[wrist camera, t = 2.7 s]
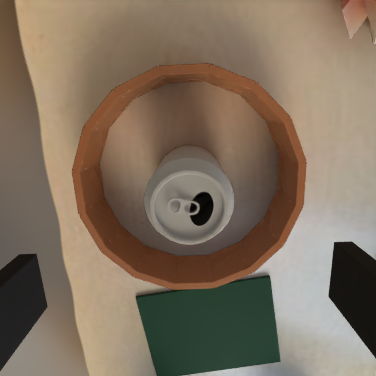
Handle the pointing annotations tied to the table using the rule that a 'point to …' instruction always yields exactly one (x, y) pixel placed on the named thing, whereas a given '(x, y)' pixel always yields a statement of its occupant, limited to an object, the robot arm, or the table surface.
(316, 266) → the table surface
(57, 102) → the table surface
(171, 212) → the can
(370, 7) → the torch
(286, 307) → the table surface
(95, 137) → the brown wooden ring
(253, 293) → the felt mat
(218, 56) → the table surface
